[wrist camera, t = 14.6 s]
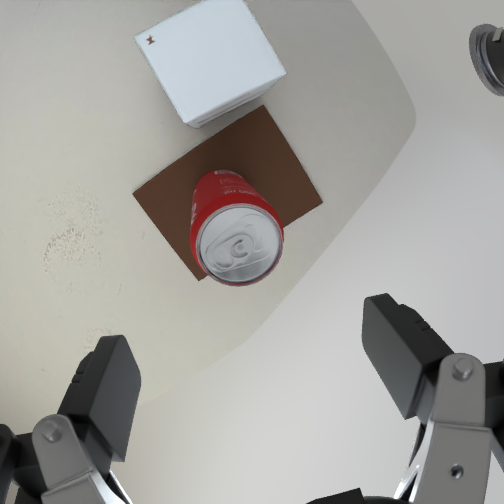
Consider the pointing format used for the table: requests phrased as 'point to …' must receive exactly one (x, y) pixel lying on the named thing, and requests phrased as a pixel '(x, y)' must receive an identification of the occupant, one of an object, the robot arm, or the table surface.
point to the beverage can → (234, 230)
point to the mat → (235, 159)
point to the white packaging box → (210, 59)
